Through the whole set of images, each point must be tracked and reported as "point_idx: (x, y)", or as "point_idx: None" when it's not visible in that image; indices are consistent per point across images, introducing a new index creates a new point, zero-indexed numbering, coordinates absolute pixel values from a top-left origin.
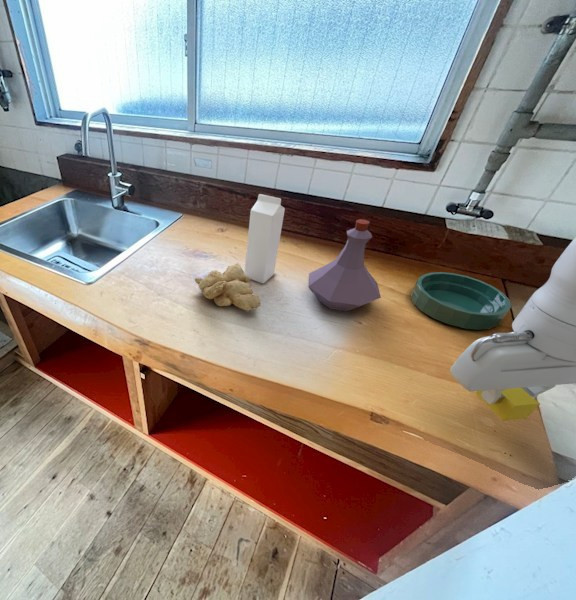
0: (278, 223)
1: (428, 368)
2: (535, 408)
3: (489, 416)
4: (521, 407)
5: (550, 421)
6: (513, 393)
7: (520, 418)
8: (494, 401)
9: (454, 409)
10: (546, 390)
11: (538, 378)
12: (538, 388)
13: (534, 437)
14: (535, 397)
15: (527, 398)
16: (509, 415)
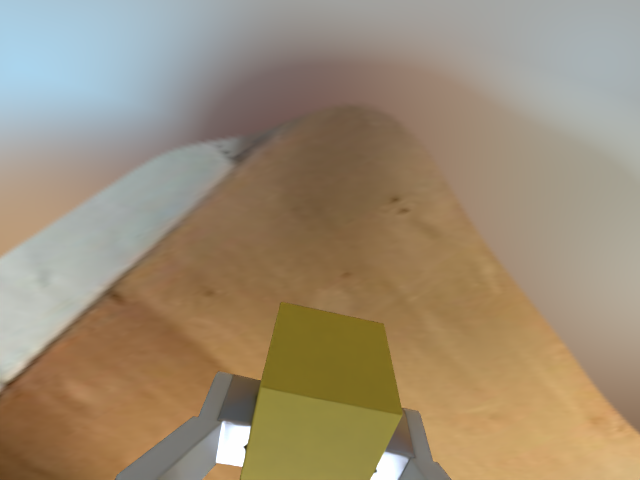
0: None
1: None
2: (273, 355)
3: None
4: (358, 388)
5: (122, 241)
6: (325, 454)
7: (310, 310)
8: (418, 428)
9: None
10: (164, 445)
11: None
12: (193, 460)
13: (240, 218)
14: (210, 394)
15: (287, 419)
16: (378, 345)
